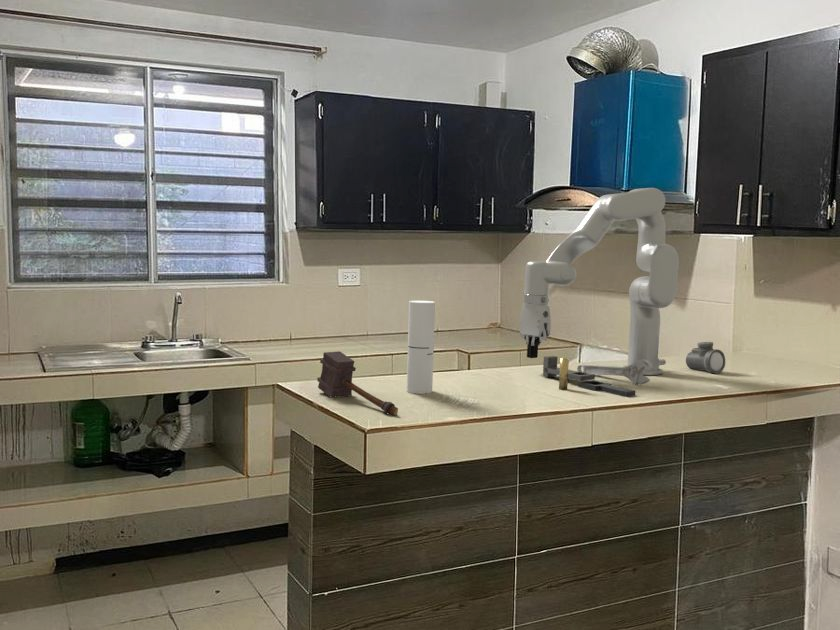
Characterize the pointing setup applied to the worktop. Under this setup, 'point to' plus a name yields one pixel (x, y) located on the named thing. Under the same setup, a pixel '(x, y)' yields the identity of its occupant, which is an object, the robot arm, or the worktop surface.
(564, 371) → the pin
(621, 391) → the bar
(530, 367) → the worktop surface
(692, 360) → the pipe fitting
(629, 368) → the wrench
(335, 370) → the hammer
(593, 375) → the chain end
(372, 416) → the worktop surface
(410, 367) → the cylindrical container
